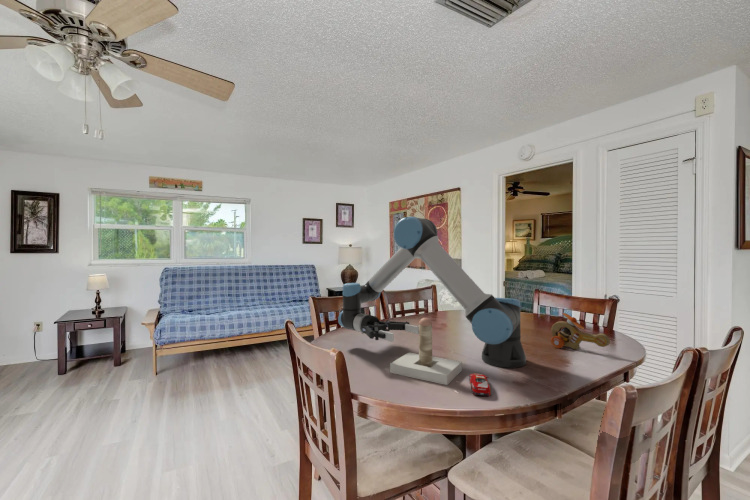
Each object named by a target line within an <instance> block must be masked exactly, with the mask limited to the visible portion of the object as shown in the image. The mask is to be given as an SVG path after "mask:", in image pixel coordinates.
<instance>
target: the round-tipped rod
mask: <svg viewBox="0 0 750 500" xmlns="http://www.w3.org/2000/svg"><path fill="white" fill-rule="evenodd" d="M418 327H419V334H418V354H419V365H422V366H427V367H432V356H433V322H432V321H431V319H430V318H429V317H422V318H420V320H419V321H418Z"/></svg>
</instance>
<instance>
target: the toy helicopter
mask: <svg viewBox="0 0 750 500" xmlns="http://www.w3.org/2000/svg"><path fill="white" fill-rule="evenodd" d="M562 316H564V317H566V318H567V320H566V321H565V320H563V321H562V320H561V321H559V320H558V321H557V322H555V323H554V324H552V326H551V329H550V331H551V334H552V337H551V338H550V344H551V346H552V347H553V348H555V349H561V348H563V347H566V348H567V347H569V348H571V349H572V350H574V351H575V350H579V349H580V344H581V343H582V342H587V343H594V344H596V345H597V346H599V347H600V348H601V347H602V348H605V347H607V346H609V345H610V344H611V338H609V336H608V335H607V334H605V333H601V332H600V333H597V334H594V333H590V332H584V331H581V330H580V329H582V330H585V327H584V326H582V324H581V323H579V321H577V318H576V317H574V316H573V317H572V316H571V315H570V314H568V313H564V312H562Z"/></svg>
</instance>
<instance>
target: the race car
mask: <svg viewBox="0 0 750 500" xmlns="http://www.w3.org/2000/svg"><path fill="white" fill-rule="evenodd" d="M488 378H489V376H487V375H485V374H482V373H475V372H474V373H471V374H469V385H470V389H471V392H472V394H473V395H474V396H482V397H484V396H485V397H488V396H490V397H491V395H492V394H491V391H492V389H491V386H490V385H491V384H490V383H489V380H488Z"/></svg>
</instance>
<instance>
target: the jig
mask: <svg viewBox="0 0 750 500" xmlns="http://www.w3.org/2000/svg"><path fill="white" fill-rule="evenodd" d="M462 366H463V363H462V361H460V360H455V359H449V358H442V357H439V356H433V355H432V367H427V366H422V365H419V353H415V352H409V351H408V352H407V353H405V354H403V355H402V356H400V357H398V358H397V359H396V360H394V361H391V362H390V363H389V370H390V371H389V373H390V374H395V375H399V376H403V377H409V378H413V379H418V380H421V381H426V382H430V383H431V382H432V383H436V384H440V385H445V386H448V385H450V383H451V382H452V381H453V380H454V379H455V378H456V377H457V376H458V375H459V374H460V373H461V372H462V370H463V367H462Z"/></svg>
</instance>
